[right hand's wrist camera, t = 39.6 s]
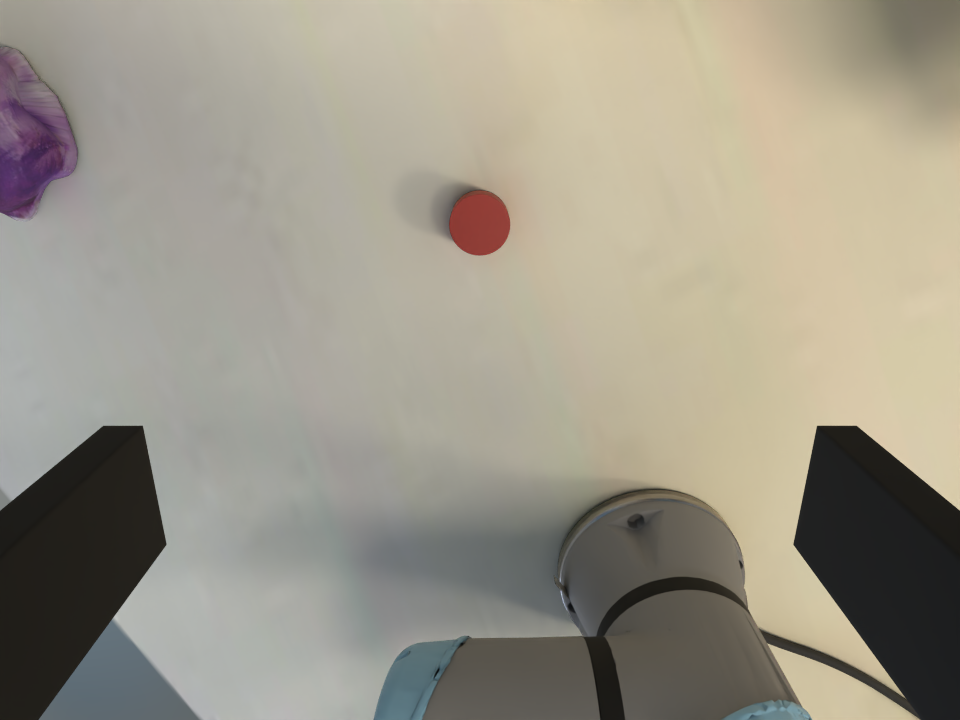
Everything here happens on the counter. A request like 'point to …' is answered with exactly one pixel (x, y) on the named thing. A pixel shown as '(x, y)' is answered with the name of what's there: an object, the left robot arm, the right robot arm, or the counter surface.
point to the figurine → (29, 137)
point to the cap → (479, 223)
